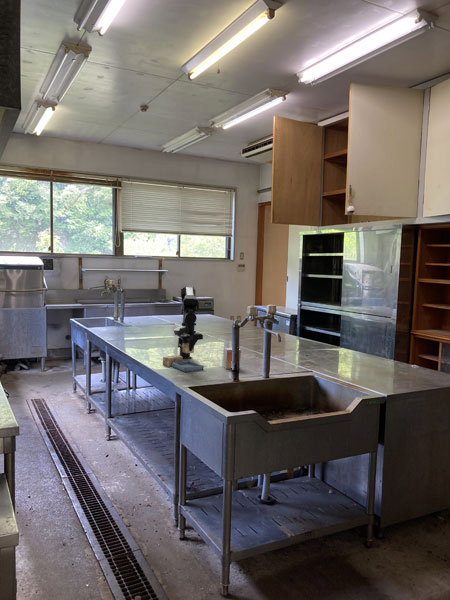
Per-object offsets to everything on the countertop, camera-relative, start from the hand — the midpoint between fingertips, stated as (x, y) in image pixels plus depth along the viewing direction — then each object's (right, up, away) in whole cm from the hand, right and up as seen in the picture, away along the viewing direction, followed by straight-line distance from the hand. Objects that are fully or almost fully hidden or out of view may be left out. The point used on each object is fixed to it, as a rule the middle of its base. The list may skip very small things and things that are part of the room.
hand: (187, 350), depth 247 cm
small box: (+23, -11, +8) cm, 27 cm away
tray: (-1, -10, +1) cm, 10 cm away
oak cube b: (-7, -9, +9) cm, 14 cm away
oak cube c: (-11, -9, +5) cm, 15 cm away
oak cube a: (0, -1, 0) cm, 1 cm away
